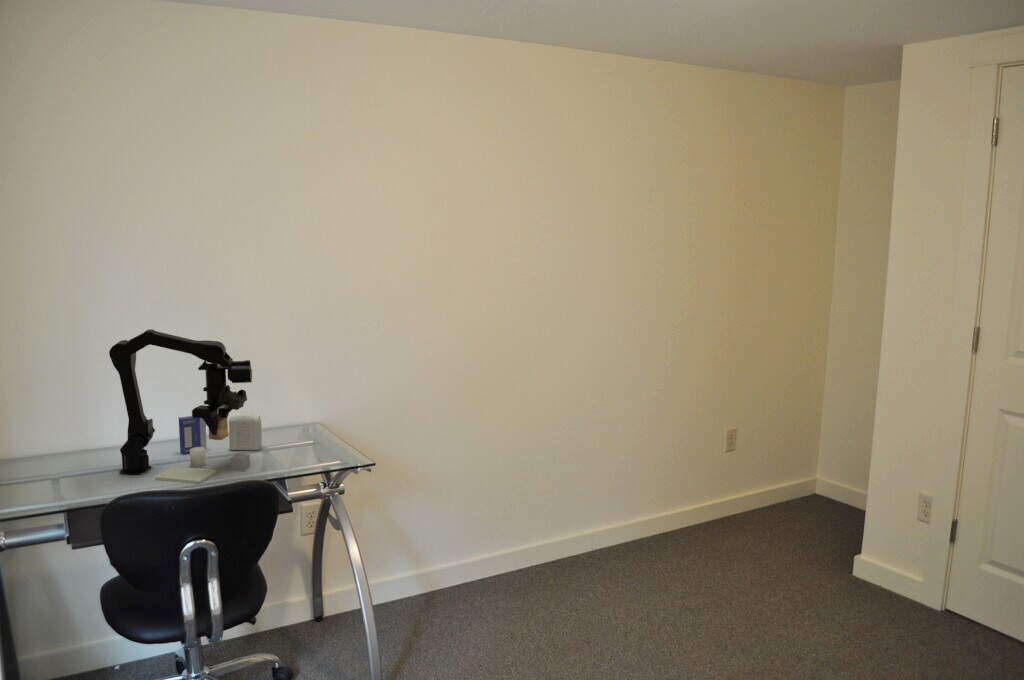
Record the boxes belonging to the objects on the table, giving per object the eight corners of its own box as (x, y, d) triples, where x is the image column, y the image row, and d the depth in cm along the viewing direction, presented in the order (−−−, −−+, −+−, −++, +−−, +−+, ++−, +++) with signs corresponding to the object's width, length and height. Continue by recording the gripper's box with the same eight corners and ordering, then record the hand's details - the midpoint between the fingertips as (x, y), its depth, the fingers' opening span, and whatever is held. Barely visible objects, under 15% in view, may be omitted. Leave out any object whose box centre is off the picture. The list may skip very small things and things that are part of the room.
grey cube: (231, 470, 230) (230, 457, 229) (237, 465, 234) (237, 453, 233) (243, 471, 229) (243, 458, 229) (249, 466, 233) (249, 454, 233)
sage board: (155, 479, 220) (155, 477, 220) (173, 469, 229) (172, 466, 229) (199, 483, 218) (199, 480, 218) (216, 472, 227) (216, 470, 227)
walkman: (182, 454, 242) (180, 418, 240) (180, 452, 244) (178, 416, 242) (207, 450, 246) (206, 415, 244) (205, 448, 249) (204, 413, 246)
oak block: (209, 439, 229) (208, 420, 228) (215, 435, 233) (215, 416, 232) (221, 440, 229) (220, 421, 228) (228, 436, 233) (227, 417, 232)
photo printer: (263, 446, 252) (262, 411, 250) (260, 450, 248) (259, 414, 246) (231, 447, 251) (229, 411, 248) (228, 451, 246) (226, 414, 244)
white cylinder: (187, 466, 232) (186, 450, 231) (195, 461, 236) (194, 446, 235) (201, 467, 231) (200, 452, 230) (208, 462, 235) (207, 447, 234)
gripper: (225, 392, 218) (227, 444, 221) (255, 378, 236) (257, 426, 239) (189, 390, 219) (192, 441, 222) (222, 376, 237) (224, 423, 240)
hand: (218, 432), depth 231 cm, fingers closed on oak block, 4 cm apart
